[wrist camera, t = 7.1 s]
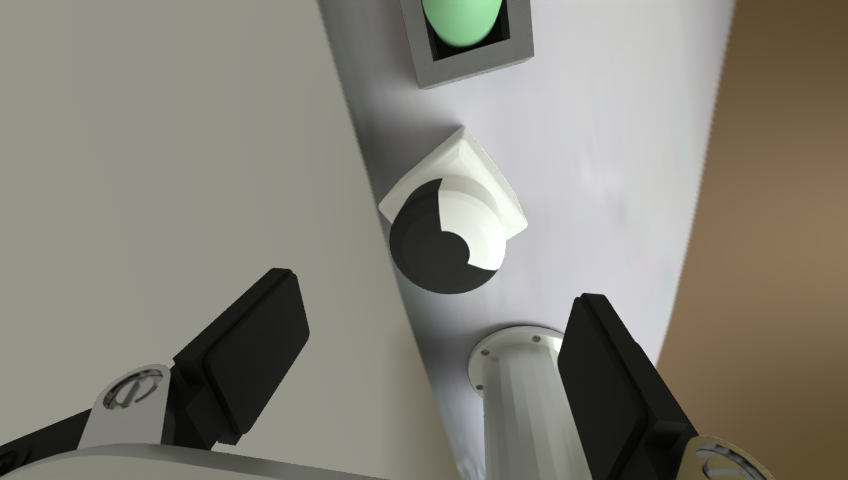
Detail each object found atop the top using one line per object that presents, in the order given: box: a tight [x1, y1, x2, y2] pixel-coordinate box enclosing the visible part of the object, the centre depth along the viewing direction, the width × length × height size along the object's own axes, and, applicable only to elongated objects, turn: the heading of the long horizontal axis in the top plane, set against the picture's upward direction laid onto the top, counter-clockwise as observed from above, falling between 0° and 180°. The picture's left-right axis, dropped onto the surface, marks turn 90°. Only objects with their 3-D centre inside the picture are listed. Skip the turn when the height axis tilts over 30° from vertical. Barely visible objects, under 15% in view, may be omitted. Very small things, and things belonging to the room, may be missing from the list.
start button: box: [422, 0, 502, 49], centre depth 16 cm, size 4×4×4 cm
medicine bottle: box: [379, 126, 528, 294], centre depth 20 cm, size 7×7×12 cm
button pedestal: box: [399, 0, 534, 89], centre depth 18 cm, size 7×7×4 cm
